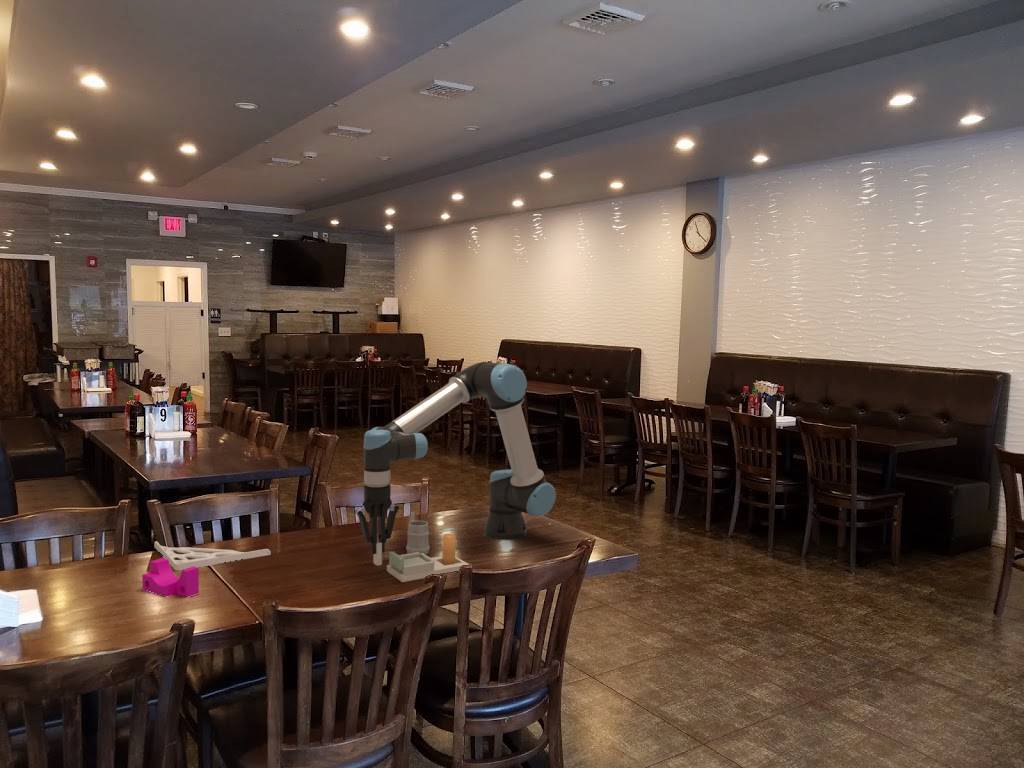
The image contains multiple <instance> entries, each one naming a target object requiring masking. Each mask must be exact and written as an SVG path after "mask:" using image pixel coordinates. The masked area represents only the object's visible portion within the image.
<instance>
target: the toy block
mask: <svg viewBox="0 0 1024 768" xmlns="http://www.w3.org/2000/svg"><path fill="white" fill-rule="evenodd" d="M149 563H150V564H149V565H150V568H149V570H150V571H149V572H145V573H143V574H142V575H141V580H142V583H141V584H142V585H141V586H142V590H143V589H144V590H148V591H151V592H154V593H153V594H155V593H157V594H156V595H158V594H161V595H164V596H163V597H165V596H169V597H171V596H170V595H172V596H174V595H173V594H175V595H176V594H177V595H176V596H180V595H181V596H180V597H183V596H186V597H187V598H189V597H188V596H191V595H194V594H197V593H199V592H200V591H199V590H200V588H199V586H200V584H199V582H200V580H199V579H200V578H199V575H200V574H199V568H198V567H194V566H193V567H190V568H187V569H184V570H181V571H180V576H179V577H178V576H177V575H176V574H175V573H174V571H173V569H172V567H171V566H170V564H169V559H165V558H164V557H160V558H157V559H154V560H151V561H149ZM144 590H143V591H144ZM148 591H147V592H148ZM151 592H150V593H151ZM199 594H200V593H199ZM161 595H160V596H161ZM186 597H185V598H186Z"/></svg>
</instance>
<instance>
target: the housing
mask: <svg viewBox="0 0 1024 768" xmlns="http://www.w3.org/2000/svg"><path fill="white" fill-rule="evenodd" d="M398 555H399V556H401V557H402V558H404V559H410V558H416V557H420V558H422V559H423V560H425V561H426V562H424V563H418V564H413V565H407V566H403V573H402V572H401V571H400V570H398V569H397V568H395V567H394V566H393V565H392V564H391V563H390V562H389V564H386V571H387V572H388V573H389V574H390V575H392V577H394V578H396V579H397V580H398V581H400V582H401V583H406V582H411V581H417V580H421V579H426V578H425V577H426V576H428V575H431V574H440V573H447V572H454V571H459V569H460V567H461V566H462V565H469V566H470V563H467V562H466V561H464V560H462V559H461V558H459V557H457V556H456V555H455V564H451V565H443V564H442V555H439V556H434V557H433V556H432V557H430V556H428V555H427V554H426V555H425V554H423V553H419V552H415V553H409V554H408V553H405V554H404V553H403V554H398ZM459 572H460V571H459ZM454 573H455V572H454Z"/></svg>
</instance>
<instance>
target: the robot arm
mask: <svg viewBox="0 0 1024 768" xmlns="http://www.w3.org/2000/svg"><path fill="white" fill-rule="evenodd" d="M527 387H528V381H527V377H526V375H525V373H524V372H523V371H522V369H521V368H520V367H518V366H516V365H513V364H510V363H506V362H504V363H503V362H502V363H499V362H489V361H479V362H477V363H474V364H472V365H470V366H468V367H466V368H464V369H462V370H461V371H459V372H458V373H456V374H454V375H452V376H451V377H450V378H449V380H448V383H446V384H445V385H444V386H443V387H441V388H440V389H438V390H436V391H435V392H434V393H432V394H431V395H428V396H427V397H426V398H425V399H423V400H421V401H420V402H418V403H417V404H416V405H414V406H412V407H411V408H410V409H409V410H407V411H405V412H404V413H402V414H401V415H400V416H398V417H397V418H395V419H394V420H392V421H391V422H389V423H388V424H386V425H384V426H376V427H373V428H372V429H371V430H367V431H366V432H365V433H364V435H363V483H364V485H363V499H364V500H363V503H362V506H361V507H360V508H359V509H355V510H354V513H355V514H356V516H357V517H358V519H359V524H360V528H361V532H362V536H363V540H364V541H365V542H367V543H370V553H371V554H372V555H373V556H372V557H373V561H372V562H373V564H374V565H375V566H382V565H383V553H385V550H386V549H385V548H386V547H385V544H386V542H387V540H390V539H391V538H392V533H393V529H394V525H395V521H396V516H397V513H398V512H399V509H400V506H399V505H397V504H395V503H393V501H392V499H391V493H392V492H391V489H392V488H391V484H390V483H391V481H392V480H391V467H392V466H391V465H392V464H391V463H395V462H401V461H409V460H417V459H421V458H424V457H425V456H426V455H427V453H428V449H429V447H428V446H429V444H428V439H427V437H426V436H425V435H424V434H423V433H421V431H422V430H424V429H425V428H426V427H428V426H430V425H431V424H432V423H433V422H435V421H437V420H439V418H441V417H442V416H444V415H445V414H446V413H448V412H450V411H451V410H453V409H454V408H456V407H457V406H459V404H461V403H463V404H464V403H468V402H470V401H471V400H473V399H476V398H485V399H486V400H487V401H486V402H487V404H488V407H489V410H490V411H492V412H495V416H496V419H497V421H498V426H499V429H500V433H501V436H502V440H503V444H504V448H505V451H506V456H507V457H508V462H509V465H510V469H501V470H494V471H493V472H491V474H490V476H489V484H488V485H489V499H488V500H489V507H488V509H489V511H488V516H487V518H486V521H485V525H484V526H483V527H484V528H483V536H485V537H486V536H487V538H488V539H494V540H499V541H500V540H501V541H512V540H513V541H514V540H519V539H520V540H521V539H522V538H525V537H526V536H527V526H526V522H525V518H524V516H523V513H525V514H528V515H529V516H534V517H535V516H536V517H543V516H544V515H547V514H548V513H549V512H550V511H551V509H552V508H553V505H554V504H555V503H556V502H555V501H556V498H557V497H556V495H557V494H556V488H555V487H554V486H553V484H551V483H549V482H547V481H546V476H545V473H544V471H543V470H542V469H540V468H538V465H537V460H536V457H535V452H534V449H533V446H532V442H531V439H530V434H529V431H528V426H527V424H526V420H525V415H524V412H523V409H522V404H523V403H524V401H525V398H524V396H525V394H526V389H528V388H527ZM366 513H367V514H368V518H369V526H368V522H367V519H366V516H365V515H366ZM387 513H388V515H387Z"/></svg>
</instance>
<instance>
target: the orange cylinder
mask: <svg viewBox="0 0 1024 768" xmlns="http://www.w3.org/2000/svg"><path fill="white" fill-rule="evenodd" d="M456 541H457V537H456V534H453V533H443V534H442V548H441V549H442V550H441V551H442V553H441V556H442V564H443V565H451V564H455V556H456V551H457V550H456V549H457V548H456V547H457V545H456V543H457V542H456Z"/></svg>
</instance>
